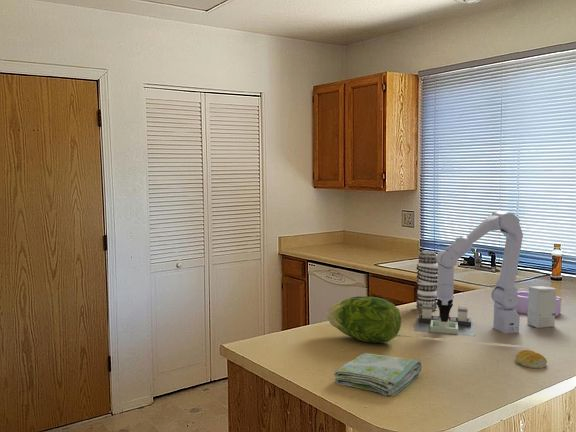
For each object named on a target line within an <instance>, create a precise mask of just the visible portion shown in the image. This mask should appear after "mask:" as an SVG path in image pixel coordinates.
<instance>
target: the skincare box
mask: <svg viewBox="0 0 576 432" xmlns="http://www.w3.org/2000/svg"><path fill="white" fill-rule="evenodd" d="M528 292H529V296H528V314H527V319H526V321H527V322H526V324H527V325H529V326H531V327H534V328H536V329H539V328H541V329H542V328H551V327H552V328H553V327H555V326H556V316H555V306H556V296H557V288H556V287H555V288H554V287H551V286H547V285H546V286H543V285H538V286H535V285H534V286H528Z"/></svg>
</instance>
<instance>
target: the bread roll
mask: <svg viewBox="0 0 576 432" xmlns="http://www.w3.org/2000/svg"><path fill="white" fill-rule="evenodd" d="M514 361H515V362H516V364H518V365H521V366H523V367H525V368H530V369H543V368H545V367H546V365H547V363H548V361H547V358H546V357H545V356H544V355H542V354H541V353H539V352H536V351H533V350H531V349H523V350H520V351H518V352H517V353H516V355H515V360H514Z"/></svg>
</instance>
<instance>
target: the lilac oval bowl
mask: <svg viewBox="0 0 576 432" xmlns="http://www.w3.org/2000/svg"><path fill="white" fill-rule="evenodd" d="M517 295H518V299H519V301H518V304H517V305H516V306H515V311H516V312H517V313H522V314H527V315H528V296H529V291H524V290H521V291H519V290H518V291H517ZM561 306H562V297H561V296H558V295H556V306H555V317H559V316H560V315H561V309H562V308H561Z"/></svg>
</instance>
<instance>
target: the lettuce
mask: <svg viewBox="0 0 576 432" xmlns="http://www.w3.org/2000/svg"><path fill="white" fill-rule="evenodd" d="M326 319H327V321H328V322H329V323H330V325H331V326H332V327H333V328H336V329H337V330H338V331H340V332H341V333H343V334H344V335H346V336H347V337H350V338H353V339H354V340H355V339H356V340H358V341H361V342H364V343H371V344H372V343H389V342H390V341H391V340H393V339H395V338H396V337H397V335H398V334H399V331H400V330H401V326H402V316H401V311H400V308H398V307H397V306H396V305H395V304H394V303H393V302H391V301H390V300H388V299H385V298H381V297H376V296H375V297H374V296H365V295H364V296H363V295H362V296H360V295H358V296H351V297H348V298H345V299H344V300H342V301H339V302H337V303H334V304H333V305H331V306H330V307H329V308H328V309H327V312H326Z"/></svg>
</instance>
